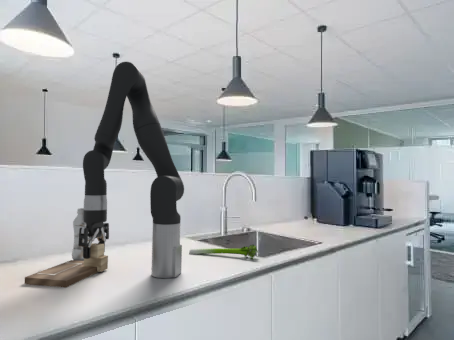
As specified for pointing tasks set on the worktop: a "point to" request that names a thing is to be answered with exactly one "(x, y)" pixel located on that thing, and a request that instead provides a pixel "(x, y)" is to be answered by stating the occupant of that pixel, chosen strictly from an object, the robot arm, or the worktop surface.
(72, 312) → the worktop surface
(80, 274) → the board
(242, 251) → the leek
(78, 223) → the plastic bottle
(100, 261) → the stepped wooden block
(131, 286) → the worktop surface
